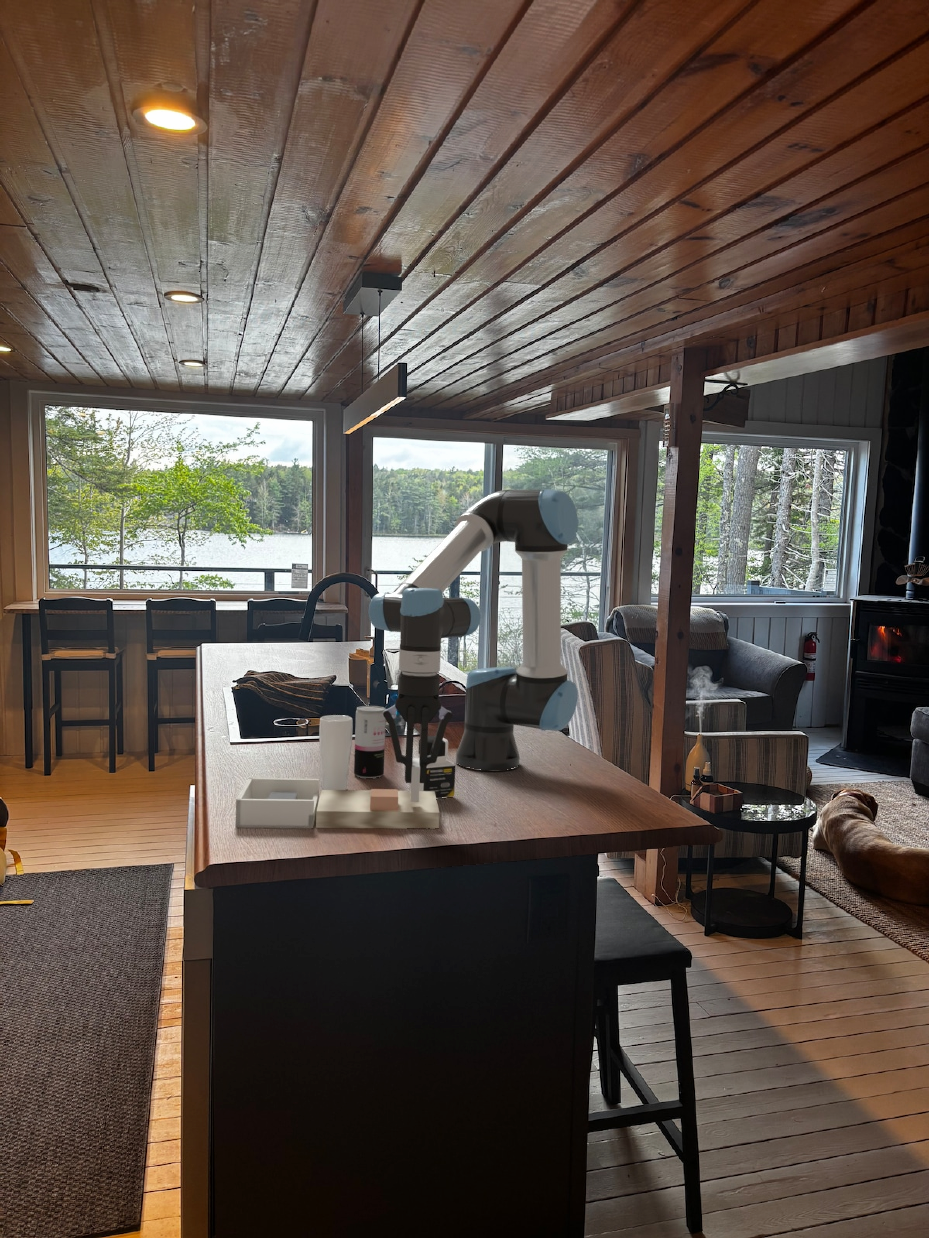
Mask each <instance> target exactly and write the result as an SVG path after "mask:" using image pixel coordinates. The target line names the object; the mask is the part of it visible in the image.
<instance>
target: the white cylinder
mask: <svg viewBox="0 0 929 1238" xmlns="http://www.w3.org/2000/svg"><path fill="white" fill-rule="evenodd" d="M353 725H354V723H353V718H352V717H351V716H349V715H340V714H339V715H338V714H337V715H336V714H333V715H331V714H330V715H323V716H321V717H320V719H319V730H318V731H319V732H318V734H319V735H318V738H319V739H318V740H319V757H320V773H321V774H320V777H321V780H320V781H321V784H320V786H321V790H348V779H349V771H350V770H349V769H350V761H351V760H350V759H351V752H352V745H353V731H354V730H353V727H354V726H353Z"/></svg>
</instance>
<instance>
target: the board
mask: <svg viewBox="0 0 929 1238" xmlns="http://www.w3.org/2000/svg"><path fill="white" fill-rule="evenodd" d="M370 797H371V789H369V790H368V789H365V790H364V789H363V790H362V789H358V790H357V789H355V790H354V789H346V790H323V789H321V790H320V793H319V802H318V807H317V811H316V818H315V828H316V829H318V828H320V829H321V828H322V829H323V828H324V829H327V828H328V829H333V828H334V829H407V828H426V830H430V829H431V830H432V829H433V830H436V829H435V828H439V829H440V810H439V805H438V799H437V800H436V795H435V791H419V802H411V801H410V791H409V790H398V810H370ZM428 828H430V829H428Z"/></svg>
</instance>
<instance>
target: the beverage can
mask: <svg viewBox="0 0 929 1238" xmlns="http://www.w3.org/2000/svg"><path fill="white" fill-rule="evenodd" d="M384 709H386V707H384V706H378V705H362V706H357V707H356V711H355V733H354V759H353V760H354V761H353V762H354V764H353V766H354V767H353V774H354V775H355V776H356V777H357V778H359V777H360V779H366V778H373V779H377V778H376V777H379V778H380V777H382V776H383V775H384V774H385V773H384V772H385V750H386V749H385V747H386V722H387V721H386V719H385V717H384V716H383V710H384Z"/></svg>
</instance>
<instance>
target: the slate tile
mask: <svg viewBox="0 0 929 1238" xmlns="http://www.w3.org/2000/svg"><path fill="white" fill-rule="evenodd" d="M268 799H297V792H271V793H270V795H269V797H268Z"/></svg>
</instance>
